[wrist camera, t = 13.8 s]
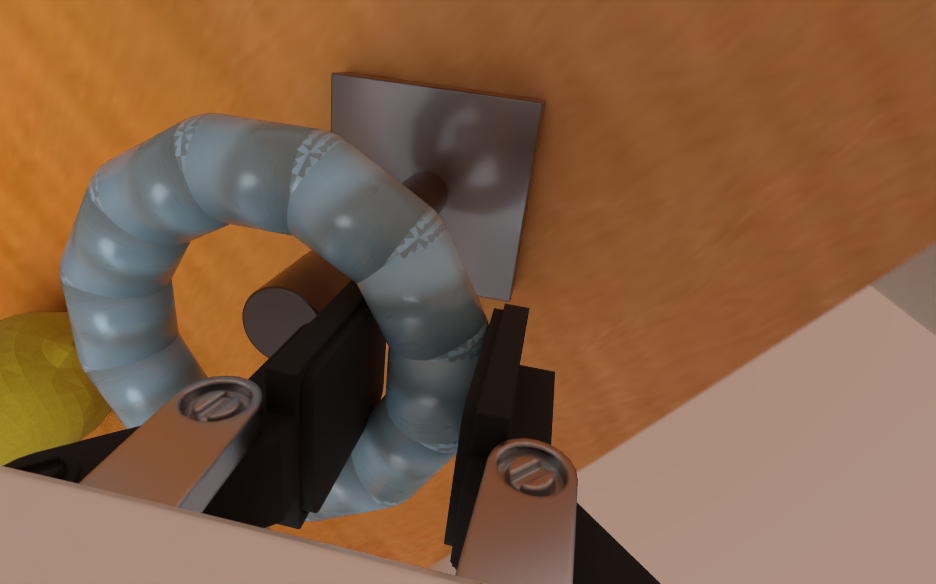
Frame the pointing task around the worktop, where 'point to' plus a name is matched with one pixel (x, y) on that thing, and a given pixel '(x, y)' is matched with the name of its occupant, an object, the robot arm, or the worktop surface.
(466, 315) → the ring
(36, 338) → the lemon
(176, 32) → the worktop surface
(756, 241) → the worktop surface
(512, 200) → the peg stand
